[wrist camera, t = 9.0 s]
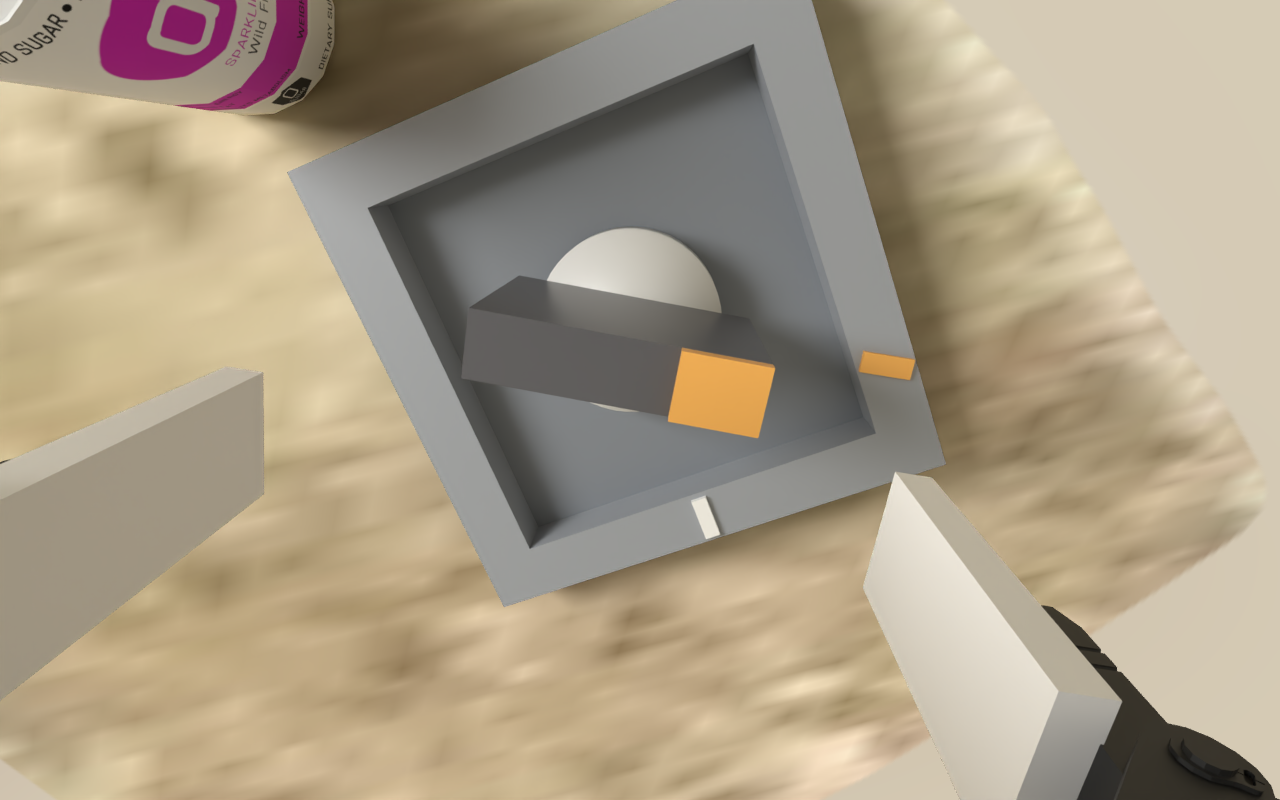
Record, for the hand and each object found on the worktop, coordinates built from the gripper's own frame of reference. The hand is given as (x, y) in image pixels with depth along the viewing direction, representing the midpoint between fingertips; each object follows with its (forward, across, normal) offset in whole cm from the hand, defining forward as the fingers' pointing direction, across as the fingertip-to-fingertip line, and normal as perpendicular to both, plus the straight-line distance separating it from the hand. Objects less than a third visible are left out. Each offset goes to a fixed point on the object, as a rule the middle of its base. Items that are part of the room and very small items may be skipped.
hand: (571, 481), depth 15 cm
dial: (+19, 0, 0) cm, 19 cm away
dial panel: (+21, 0, 0) cm, 21 cm away
